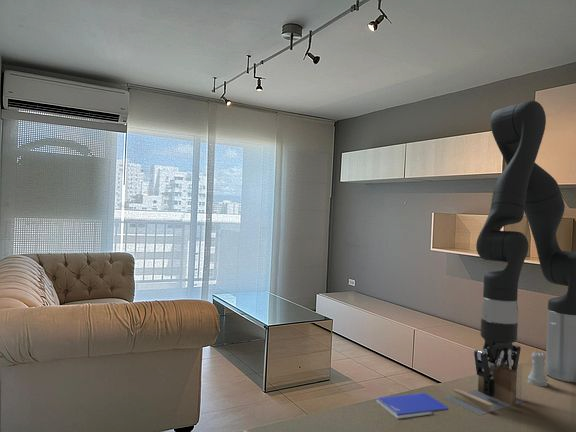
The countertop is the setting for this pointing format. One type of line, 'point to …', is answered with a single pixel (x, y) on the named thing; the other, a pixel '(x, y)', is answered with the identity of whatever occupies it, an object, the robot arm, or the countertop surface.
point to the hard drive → (411, 405)
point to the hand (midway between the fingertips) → (496, 392)
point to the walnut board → (502, 384)
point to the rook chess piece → (538, 370)
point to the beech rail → (473, 400)
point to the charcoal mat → (496, 402)
